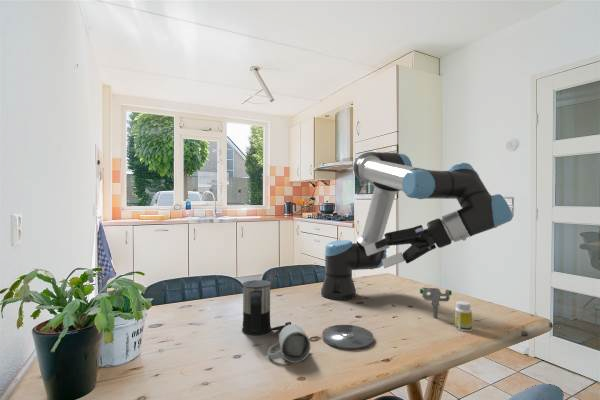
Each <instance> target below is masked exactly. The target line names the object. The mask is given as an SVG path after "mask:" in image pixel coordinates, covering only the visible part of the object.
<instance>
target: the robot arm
mask: <svg viewBox="0 0 600 400" xmlns="http://www.w3.org/2000/svg"><path fill="white" fill-rule="evenodd" d="M352 169H353V175H355V177H356V178H357V179H358V180H359V181H362V182H366V183H371V184H372V186H373V187H374V189H373V193H372V196H371V201H370V203H369V204H370V205H369V208H368V212H367V216H366V220H365V224H364V227H363V232H362V234H361V235H359V236H358V237H357V239H356V240H357V241H356V243H353V241H352V240H349V239H342V240H341V239H339V240H334V241H330V242H328V243H326V246H325V252H324V256H325V257H324V259H325V260H324V263H325V268H324V270H325V273H324V274H325V276H324V280H323V283H322V286H321V291H320V292H321V296H322V297H323V298H326V299H329V300H339V301H340V300H341V301H343V300H350V299H354V298H355V297H356V296H357V290H356V286H355V283H354V280H353V271H359V270H361V271H362V270H375V269H380V268H381V267H383V268H384V269H387V268H389V267H393V266H396V265H398V264H401V263H403V262H405V263H406V264H409V263H412V262H413V261H416V259H418V258H420V257H422V256H423V255H425V254H427V253H429V252H430V251H432V250H435V249H437V247H438V248H440V249H441V248H444V247H446V246H449V245H451V244H452V242H454V243H457V242H460V241H467V238H470V237H473V236H475V235H478V234H480V233H481V234H482V233H484V232H486V231H490V230H493V229H497V228H498V227H500V226H502V225H504V224H506V223H509V222H511V221H512V220H513V218H514V217H513V212H512V210H511V208H510V205H509V204H508V201H507V200H506V199H505V198H504V196H503V195H502V194H500V193H497V194H493V195H492V194H491V193H490V192H489V191H488V189H487V188H486V186H485V185H484V184H485V183H483V181H482V179H481V177H480V175H479V173H478V172H477V171H476V170H475V169H474V167H473V166H472V165H471V164H470V163H468V162H460V163H458V164H454V165H452V166H450V167H449V168H448V169H447V170H431V169H425V168H421V167H415V166H413V164H412V161H411V159H410V157H409V156H408V155H406V154H405V153H398V152H378V151H377V152H376V151H367V152H364V153H362V154H360V155H359V156H358V157H357V158H356V159H355V161H354V163H353V168H352ZM399 192H403V193H404V194H405V196H406V197H407V198H409V199H418V200H424V199H431V200H432V199H434V200H435V199H437V200H439V199H441V200H442V199H446V200H447V199H448V200H449V199H451V200H454V199H456V200H457V202H458V204H459V205H460V209H457V210H455V211H452V212H449V213H447V214H444V215H443V216H442V217H441V219H440V218H435V219H433V220H430V221H428V222H427V223H426V226H427V227H426V228H425V229H424V228H423V225H422V224H419V225H415V226H413V227H409V228H405V229H400V230H399V229H398V230H393V231H389V232H386V233H385V231H386V228H387V224H388V221H389V217H390V214H391V211H392V207H393V204H394V201H395V196H396V193H399ZM409 244H410V246H409V247H408V248H407V249H405V250H404V251H403V252H398V253H394V254H391V255H390V256H388V257H387V249H389V248H390V246H399V245H403V246H404V245H409Z"/></svg>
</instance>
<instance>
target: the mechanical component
mask: <svg viewBox="0 0 600 400" xmlns="http://www.w3.org/2000/svg"><path fill="white" fill-rule="evenodd" d="M428 293H429V294H428ZM452 293H453V292H452V290H449V289H445V292H444V293H442V292H441V289H440V288H437V287H434V288H433V287H421V288H420V289H419V294H422V295H421V296H422V297H423V299H424V300H425V301H430V302H431V305H432V317H433V319H438V317H439V306H440V302H449V301H450V297H451V296H452ZM442 297H445V298H442Z"/></svg>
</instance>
